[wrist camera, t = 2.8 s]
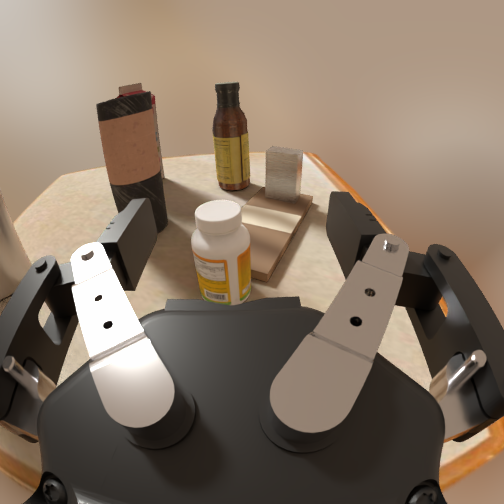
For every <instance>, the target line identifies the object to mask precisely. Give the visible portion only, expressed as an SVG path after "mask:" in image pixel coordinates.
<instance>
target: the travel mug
mask: <svg viewBox="0 0 504 504" xmlns="http://www.w3.org/2000/svg"><path fill="white" fill-rule="evenodd" d="M97 114H98V121H99V128H100V134H101V141H102V147H103V152H104V158H105V163H106V168H107V173H108V177H109V182H110V186H111V189H112V193H113V196H114V200H115V203H116V207H117V210H118V213H120V212H122V211H123V210H124V209H125V208H126V207H127V205H128V204H129V203H130V202H131V200H132V199H140V198H149V200H150V202H151V206H152V210H153V215H154V219H155V224H156V228H157V233H159V232H161V231H162V230H163V229H164V228H165V227H166V225H167V222H168V219H167V212H166V205H165V199H164V191H163V184H162V176H161V168H160V162H159V155H158V149H157V141H156V134H155V126H154V118H153V109H152V100H151V92H150V91H149V92H143V93H138V94H133V95H128V96H124V97H120V98H115V99H112V100H108V101H106V102H102V103H99V104H97Z"/></svg>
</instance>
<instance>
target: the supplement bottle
mask: <svg viewBox="0 0 504 504" xmlns="http://www.w3.org/2000/svg"><path fill="white" fill-rule="evenodd" d="M195 221H196V226H197V228H196V229H195V231H194V232H193V234H192V237H191V245H192V251H193V256H194V261H195V267H196V272H197V277H198V283H199V288H200V292H201V296H202V298H203V299H204V301H209V302H214V303H220V304H225V305H237V304H242V303H243V302H244V301H245V300H246V299H247V298H248V297H249V295H250V292H251V258H250V235H249V232H248V230H247V228H246V227H245V226H244V225H243V224H242V213H241V207H240V205H239V204H237V203H236V202H233V201H230V200H213V201H209V202H206V203H204V204H202V205H200V206H199V207H198V208H197V209H196V211H195Z"/></svg>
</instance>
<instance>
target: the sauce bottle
mask: <svg viewBox="0 0 504 504" xmlns="http://www.w3.org/2000/svg"><path fill="white" fill-rule="evenodd" d="M239 88H240V87H239V83H238V82H227V83H217V84H215V90H216V92H217V111H216V114H215V117H214V121H213V141H214V151H215V161H216V172H217V179H218V181H219V186H220V187H221V188H222V189H225V190H230V191H233V190H241V189H244V188H246V187H247V186H248V185H249V184H250V178H249V177H250V162H249V143H248V131H247V119H246V118H245V115H244V113H243V112H242V110H241V109H240V107H239V104H240V103H239V93H238V91H239Z"/></svg>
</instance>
